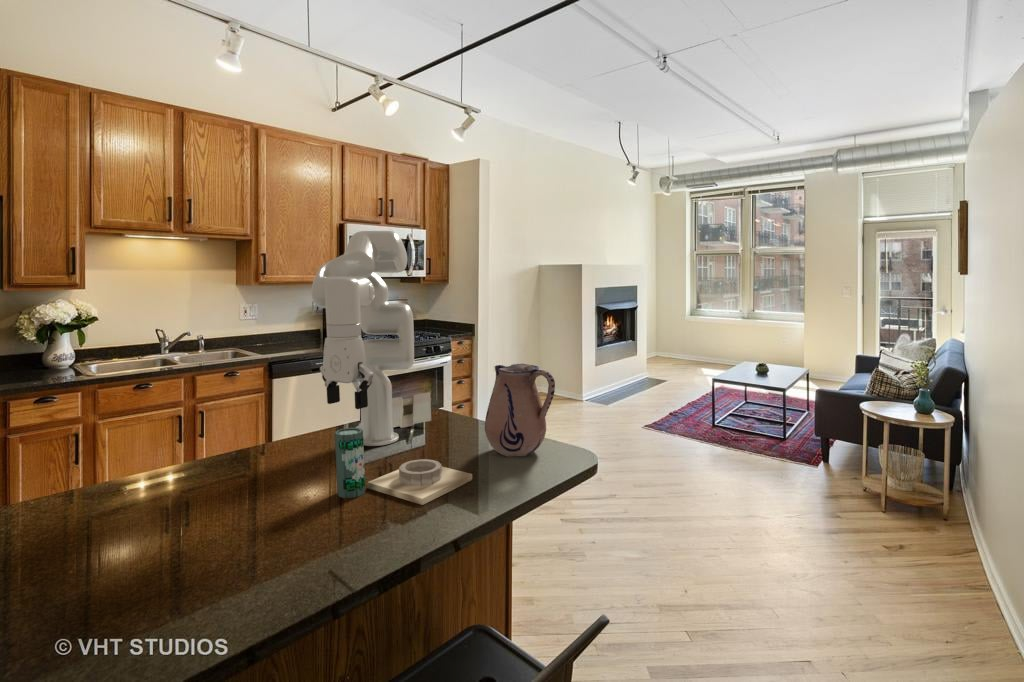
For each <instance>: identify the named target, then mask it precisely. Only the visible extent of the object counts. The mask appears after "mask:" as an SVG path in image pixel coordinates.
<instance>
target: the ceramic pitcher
mask: <svg viewBox="0 0 1024 682" xmlns="http://www.w3.org/2000/svg"><path fill="white" fill-rule="evenodd" d="M494 371H495V379H494V386H493V388H492V391H491V395H490V399H489V402H488V406H487V409H486V410H487V411H486V415H485V421H484V432H485V436H486V439H487V441H488V443H489V445H490V446H491V447H492V448H493V450H494V451H496V452H497V453H499V454H500V455H502V456H505V457H526V456H527V455H531V454H532V453H535V451H536V450H538V448H539V447H540V446H541V445H542V444H543V441H544V439H545V437H546V434H547V432H546V431H547V421H546V420H547V419H546V416H547V413H548V410H549V409H550V406H551V405H552V401H553V399H554V396H555V391H556V387H555V386H556V382H555V379H554V377H553V376H552V374H551V373H550V372H549V371H547V370H544V369H543V370H541V369H540V367H539V366H538V365H534V364H527V363H516V364H515V363H513V364H511V365H509V366H506V365H502V364H497V365H495V366H494ZM540 376H543V377H544V378H545V379H546V380H547V383H548V388H547V394H546V398H545V399H544V402H542V400H541V396H540V394H539V391H538V389H537V388H538V387H537V384H536V379H537V378H538V377H540Z"/></svg>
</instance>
